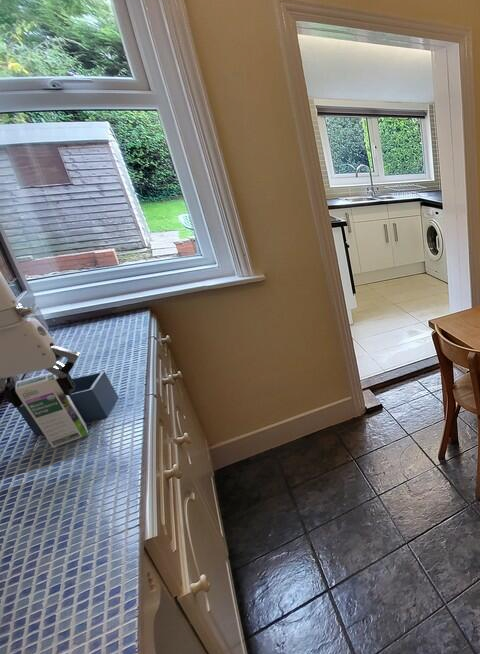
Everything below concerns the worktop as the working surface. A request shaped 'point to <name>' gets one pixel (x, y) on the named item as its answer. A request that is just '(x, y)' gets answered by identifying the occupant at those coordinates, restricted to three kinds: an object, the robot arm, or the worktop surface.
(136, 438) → the worktop surface
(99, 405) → the tub
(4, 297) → the robot arm
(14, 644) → the worktop surface
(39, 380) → the syrup box
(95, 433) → the worktop surface
